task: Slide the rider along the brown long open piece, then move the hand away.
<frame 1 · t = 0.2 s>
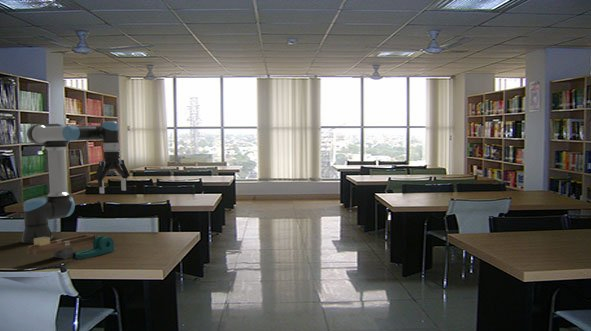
hand: (113, 191, 255), 28 cm above the table, fingers open, 13 cm apart
bracket: (93, 255, 237), on the table
rider: (42, 243, 224), point 9 cm above the table, slide at 0.0 cm
brown long open piece: (63, 256, 233), on the table
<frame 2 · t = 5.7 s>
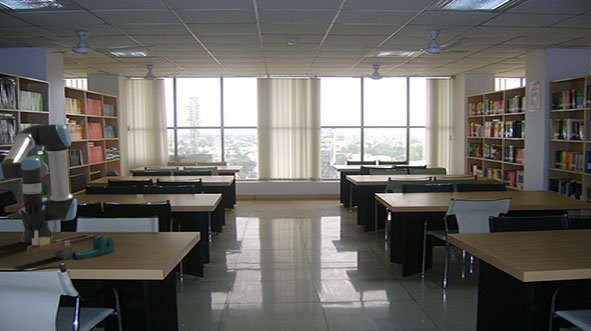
hand: (35, 244, 221), 9 cm above the table, fingers closed
rider: (42, 243, 224), point 9 cm above the table, slide at 0.1 cm, touching gripper
everything else where it was.
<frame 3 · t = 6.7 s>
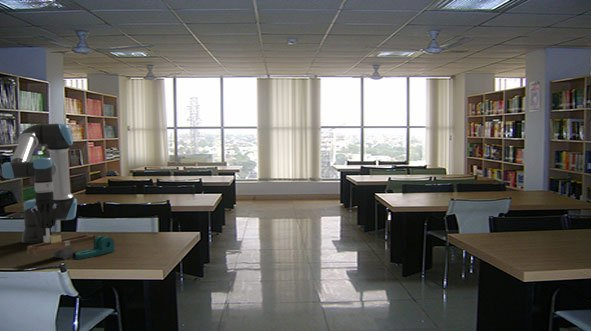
hand: (46, 242, 226), 9 cm above the table, fingers closed
rider: (53, 240, 229), point 9 cm above the table, slide at 5.6 cm, touching gripper
everything else where it was.
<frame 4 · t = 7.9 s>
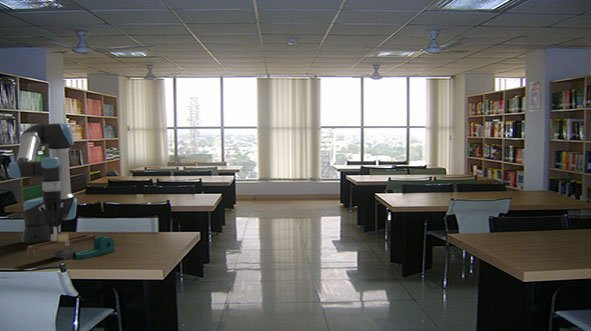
hand: (54, 240, 229), 9 cm above the table, fingers closed
rider: (60, 239, 232), point 9 cm above the table, slide at 9.2 cm, touching gripper
everything else where it was.
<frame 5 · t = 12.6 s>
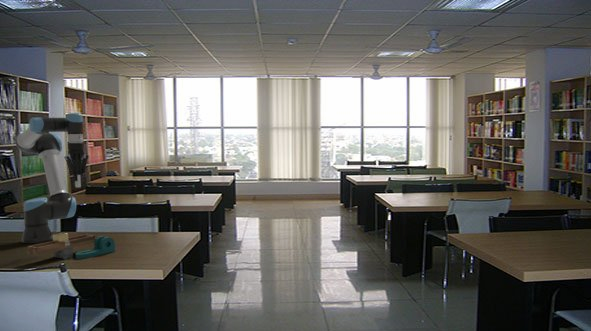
hand: (78, 187, 259), 30 cm above the table, fingers closed
rider: (60, 239, 232), point 9 cm above the table, slide at 9.2 cm
everything else where it was.
at the end: rider slide at 9.2 cm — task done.
